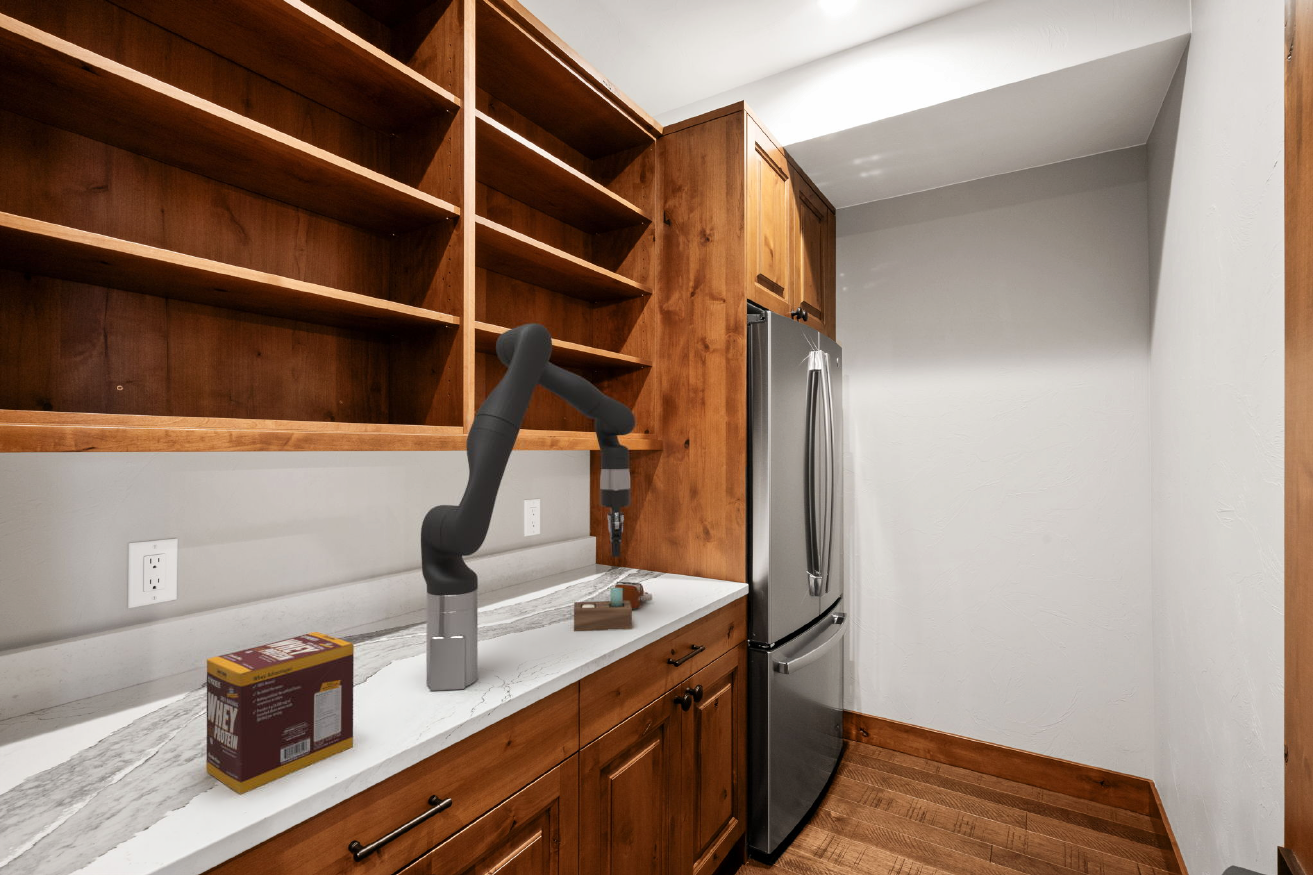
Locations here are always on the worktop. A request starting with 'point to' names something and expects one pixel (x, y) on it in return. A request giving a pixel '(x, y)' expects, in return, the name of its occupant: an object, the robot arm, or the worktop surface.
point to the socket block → (602, 616)
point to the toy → (634, 593)
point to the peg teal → (616, 597)
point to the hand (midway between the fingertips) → (615, 556)
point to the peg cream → (588, 606)
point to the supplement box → (278, 709)
